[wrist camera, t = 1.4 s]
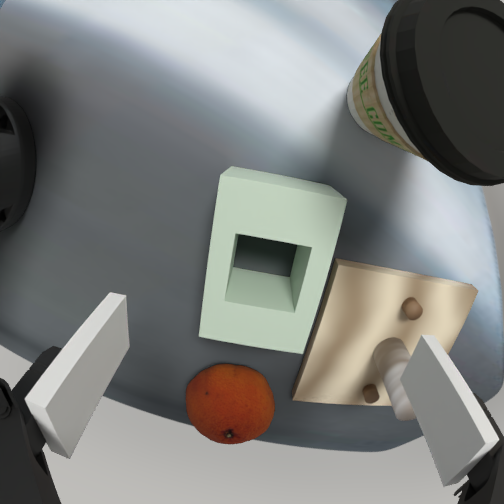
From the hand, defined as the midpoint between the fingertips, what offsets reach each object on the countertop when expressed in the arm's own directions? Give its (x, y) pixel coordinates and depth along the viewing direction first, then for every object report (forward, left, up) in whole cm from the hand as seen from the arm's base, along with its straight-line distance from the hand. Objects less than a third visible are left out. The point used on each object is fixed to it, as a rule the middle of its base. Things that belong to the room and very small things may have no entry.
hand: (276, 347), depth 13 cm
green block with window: (0, -1, -15) cm, 15 cm away
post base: (+14, -9, -15) cm, 22 cm away
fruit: (-1, -16, -15) cm, 22 cm away
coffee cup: (+7, +13, -15) cm, 21 cm away
